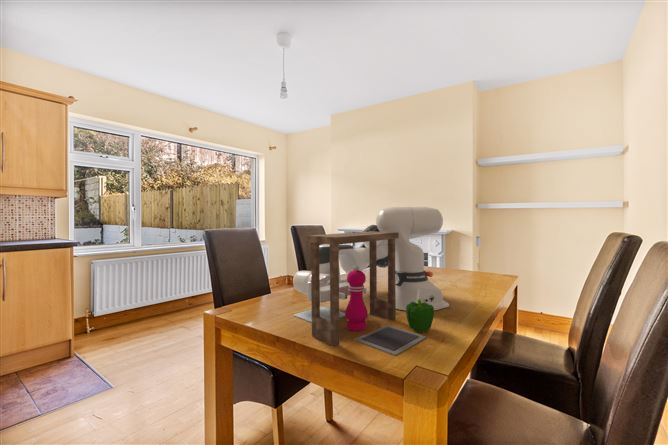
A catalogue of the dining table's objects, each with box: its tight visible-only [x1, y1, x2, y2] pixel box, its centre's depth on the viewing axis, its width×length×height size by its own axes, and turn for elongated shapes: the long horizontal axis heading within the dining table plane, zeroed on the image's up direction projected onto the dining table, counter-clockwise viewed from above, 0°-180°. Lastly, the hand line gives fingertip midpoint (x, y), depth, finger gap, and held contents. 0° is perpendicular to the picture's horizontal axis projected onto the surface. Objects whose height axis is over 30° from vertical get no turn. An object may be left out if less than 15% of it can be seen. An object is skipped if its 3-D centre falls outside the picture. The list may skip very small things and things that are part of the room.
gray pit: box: [353, 324, 427, 357], centre depth 88 cm, size 14×16×1 cm
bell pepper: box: [405, 299, 435, 333], centre depth 95 cm, size 8×8×10 cm
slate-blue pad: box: [292, 305, 346, 324], centre depth 110 cm, size 14×14×1 cm
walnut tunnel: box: [306, 231, 399, 347], centre depth 97 cm, size 12×30×30 cm, turn 135°
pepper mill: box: [344, 265, 369, 332], centre depth 97 cm, size 7×7×20 cm
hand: (355, 293), depth 97 cm, fingers open, 8 cm apart
